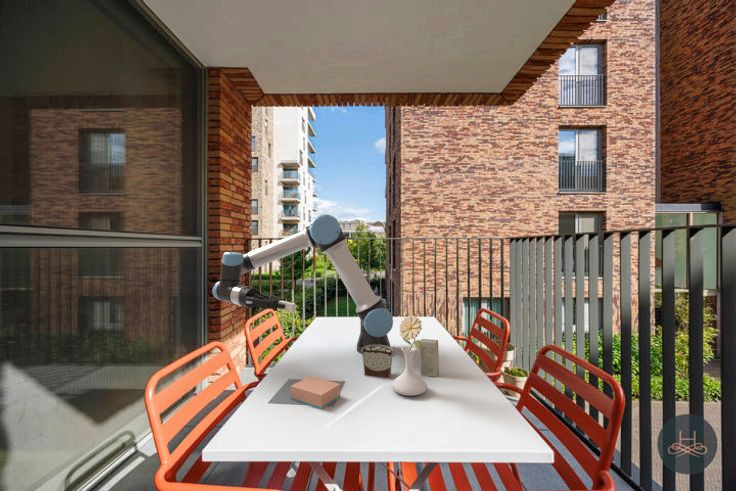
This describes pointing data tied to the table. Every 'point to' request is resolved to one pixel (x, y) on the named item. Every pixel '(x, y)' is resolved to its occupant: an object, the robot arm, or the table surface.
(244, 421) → the table surface
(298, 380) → the mat
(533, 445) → the table surface
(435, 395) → the table surface
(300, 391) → the salmon orange block
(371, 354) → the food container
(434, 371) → the skincare box
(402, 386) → the flower in vase
